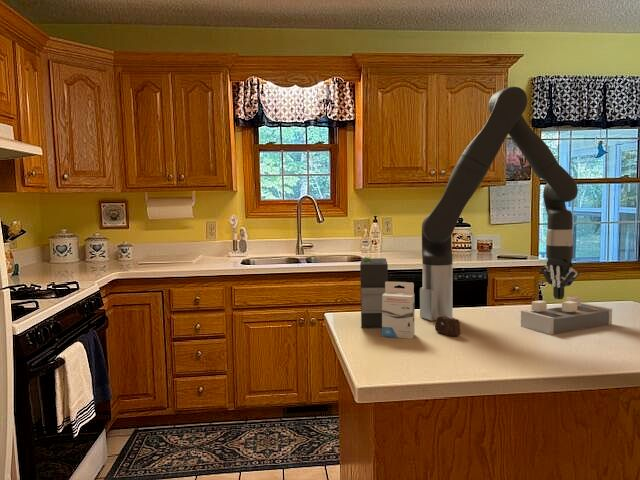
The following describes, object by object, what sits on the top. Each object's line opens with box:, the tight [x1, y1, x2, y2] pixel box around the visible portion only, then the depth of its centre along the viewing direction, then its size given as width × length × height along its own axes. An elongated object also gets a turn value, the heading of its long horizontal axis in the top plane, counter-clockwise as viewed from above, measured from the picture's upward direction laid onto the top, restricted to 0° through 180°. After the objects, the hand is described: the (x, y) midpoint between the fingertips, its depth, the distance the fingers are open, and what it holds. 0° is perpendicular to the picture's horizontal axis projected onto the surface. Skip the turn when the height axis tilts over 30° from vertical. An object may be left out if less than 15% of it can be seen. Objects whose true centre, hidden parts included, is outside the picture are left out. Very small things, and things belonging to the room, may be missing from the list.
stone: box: [434, 316, 461, 337], centre depth 136 cm, size 8×3×5 cm, turn 33°
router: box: [359, 256, 389, 329], centre depth 152 cm, size 8×18×20 cm, turn 174°
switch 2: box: [565, 295, 582, 306], centre depth 149 cm, size 3×2×2 cm
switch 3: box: [561, 300, 577, 312], centre depth 142 cm, size 3×2×2 cm
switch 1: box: [531, 300, 548, 312], centre depth 143 cm, size 3×2×2 cm
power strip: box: [520, 302, 613, 335], centre depth 143 cm, size 24×10×5 cm, turn 113°
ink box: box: [381, 281, 415, 340], centre depth 136 cm, size 8×5×15 cm, turn 72°
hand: (558, 298), depth 154 cm, fingers closed
